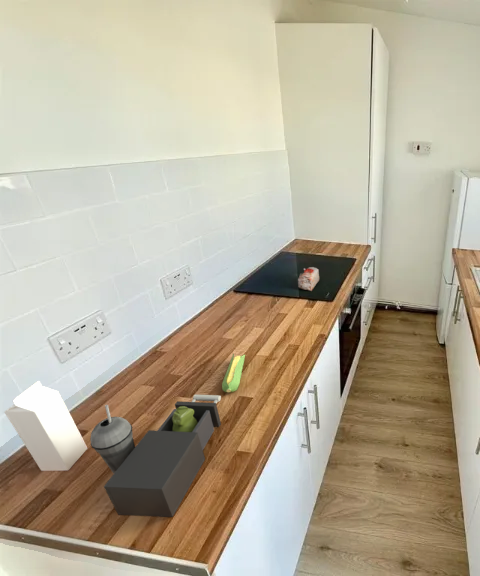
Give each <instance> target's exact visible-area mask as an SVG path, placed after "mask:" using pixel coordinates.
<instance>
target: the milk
mask: <svg viewBox="0 0 480 576" xmlns="http://www.w3.org/2000/svg"><path fill="white" fill-rule="evenodd" d="M12 403H13V404H12V405H11V406H9V407H8V408H7V409H6V410H4V414H5V416H6V417H7V419H8V420H9V422H10V424H11V425H12V426H13V428H14V429H15V432H16V433H17V434H18V437H19V438H20V440H21V441H22V442H23V444H24V446H25V448H26V449H27V451H28V452H29V453H30V456H31V457H32V458H33V460H34V462H35V463H36V465H37V466H38V468H39V470H40V471H41V472H56V471H57V472H60V471H61V472H62V471H63V472H64V471H65V472H67V471H69V470H70V469H71V468H72V467H73V466H74V465H75V464H76V462H78V460H79V459H80V458H81V456H83V454H84V453H85V452H86V451H87V450H88V447H87V444H86V442H85V440H84V438H83V436H82V434H81V432H80V430H79V429H78V427H77V425H76V423H75V420H74V418H73V417H72V414H71V413H70V411H69V409H68V407H67V405H66V403H65V401H64V399H63V397H62V395H61V393H60V391H59V390H56V389H53V388H50V387H48V386H44V385H42V383H41V381H40V380H37V381H36V382H34V383H33V384H31V385H29V387H28V388H27V389H25V390H23V392H21V393H20V394H18V395H17V396H15V398H13V399H12Z"/></svg>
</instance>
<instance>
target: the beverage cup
mask: <svg viewBox="0 0 480 576" xmlns="http://www.w3.org/2000/svg"><path fill="white" fill-rule="evenodd" d="M104 408H105V412H106V416H107V418H105V419H102V420H101V421H100V422H98V423H97V424H96V425H95V426H94V427H93V429H92V430H91V432H90V438H89V439H90V446H91V448H92V449H94V451H95V452H96V453H98V454H99V455H100V457H101V458H102V460H103V461H104V462H105V464H106V465H107V467H108V468H109V469H110V471H111V473H112V475H113V474H114V473H115V472H116V471H117V469H118V468H119V467H120V466H121V464H122V463H123V462H124V461H125V459H126V458H127V457H128V456H129V454H130V453H131V452H132V451H133V449H134V448H135V447H136V444H135V441H134V437H133V425H132V424H131V423H130V422H129V421H128V420H127V419H125V418H123V417H122V416H111V412H110V408H109V405H108V404H106V405H104Z"/></svg>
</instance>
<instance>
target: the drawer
mask: <svg viewBox="0 0 480 576" xmlns="http://www.w3.org/2000/svg"><path fill="white" fill-rule="evenodd" d="M221 399H222V396H221V395H217V394H215V395H214V394H194V395H193V397H192V400H191V401H178V400H176V402H175V403H174V407H175V408H174V409H173V410H172V411H171V412H170V414H169V415H168V416H167V418H166V419H165V420H164V422H162V424H161V425H160V426H159V428H158V429H157V431H172V429H173V420H172V418H173V414H174V412H175V411H176V408H179V407H180V406H185V407H187V408H191V409H193V410H194V414H193V417H194V418H195V419H196V420H197V422H198V424H197V425H196V427H195V428H194V430H193V431H192V432H198V436H199V439H200V443H201V446H202V450H203V451H204V449H205V447H206V446H207V444H208V442H209V441H210V440H211V437H212V436H213V433H214V432H215V428H220V426H221V425H222V423H221V419H220V414H219V409H218V405H217V404H218V403H219V402H221Z"/></svg>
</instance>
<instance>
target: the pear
mask: <svg viewBox="0 0 480 576" xmlns="http://www.w3.org/2000/svg"><path fill="white" fill-rule="evenodd" d="M175 409H176V411H175V412H174V414H173V418H172V420H173V429H172V431H176V432H192V431H193V430H194V428H195V427H196V425H197V424H198V422H197V420H196V419H195V418H194V417H193V414H194V410H193V409H191V408H187V407H185V406H180V407H179V408H175Z"/></svg>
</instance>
